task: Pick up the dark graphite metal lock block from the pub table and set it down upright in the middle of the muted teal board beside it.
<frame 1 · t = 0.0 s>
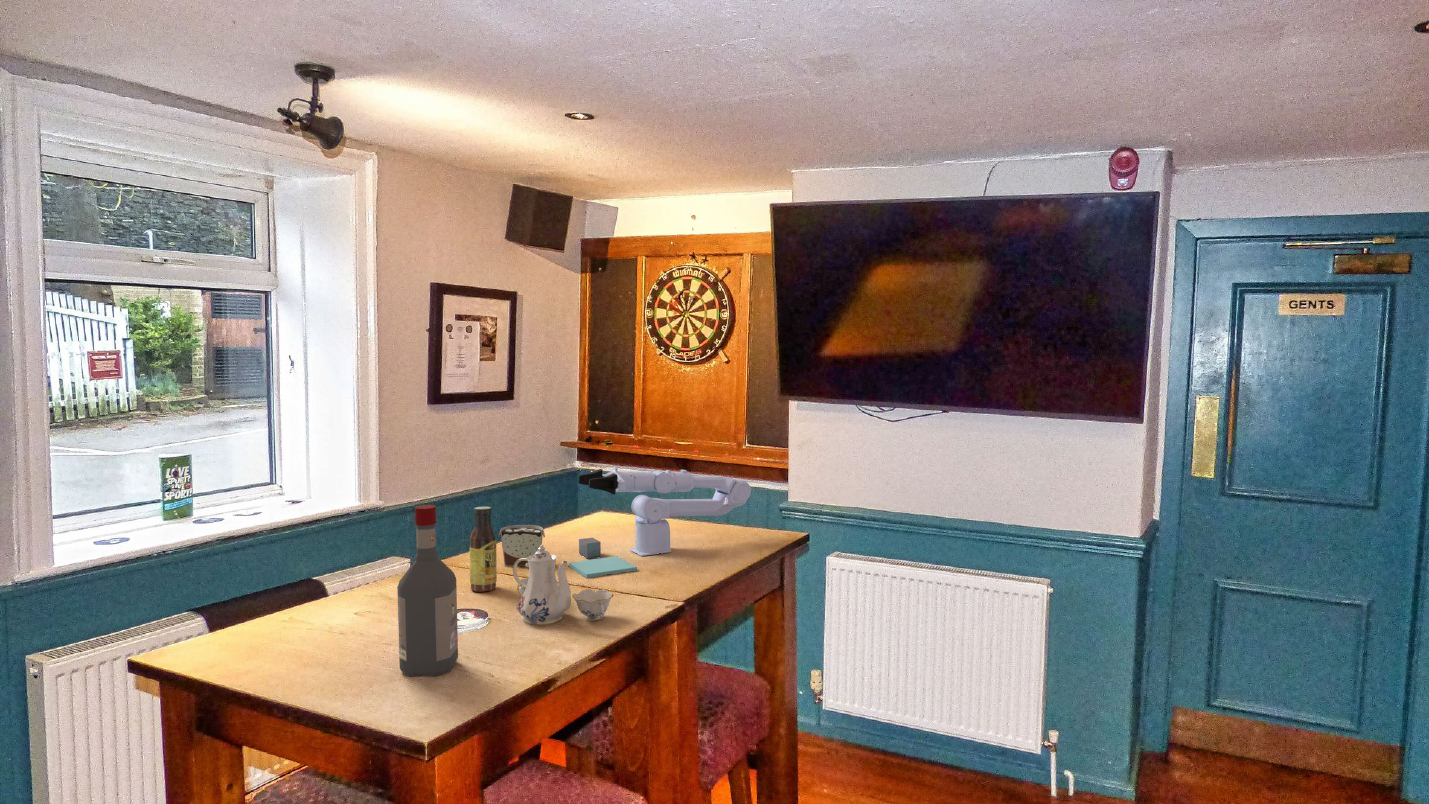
hand: (583, 481, 236), 22 cm above the table, tool horizontal, fingers open, 7 cm apart
chinaware: (553, 616, 191), on the table
sauce bottle: (483, 589, 211), on the table
teal board: (602, 568, 229), on the table
food container: (525, 564, 234), on the table
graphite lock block: (589, 556, 242), on the table
liquor: (429, 668, 161), on the table
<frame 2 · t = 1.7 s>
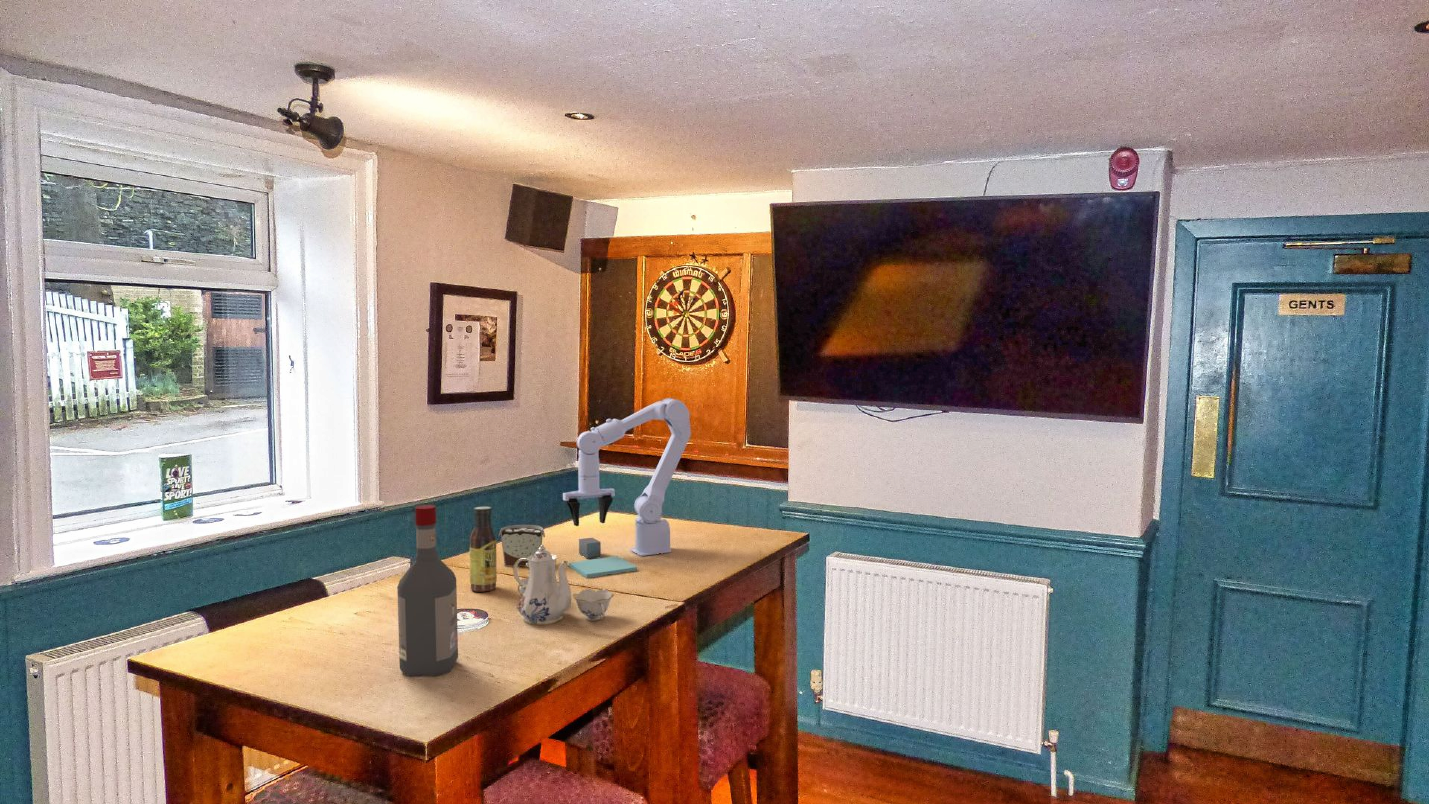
hand: (589, 524, 242), 9 cm above the table, tool pointing down, fingers open, 7 cm apart
nothing on the table moved.
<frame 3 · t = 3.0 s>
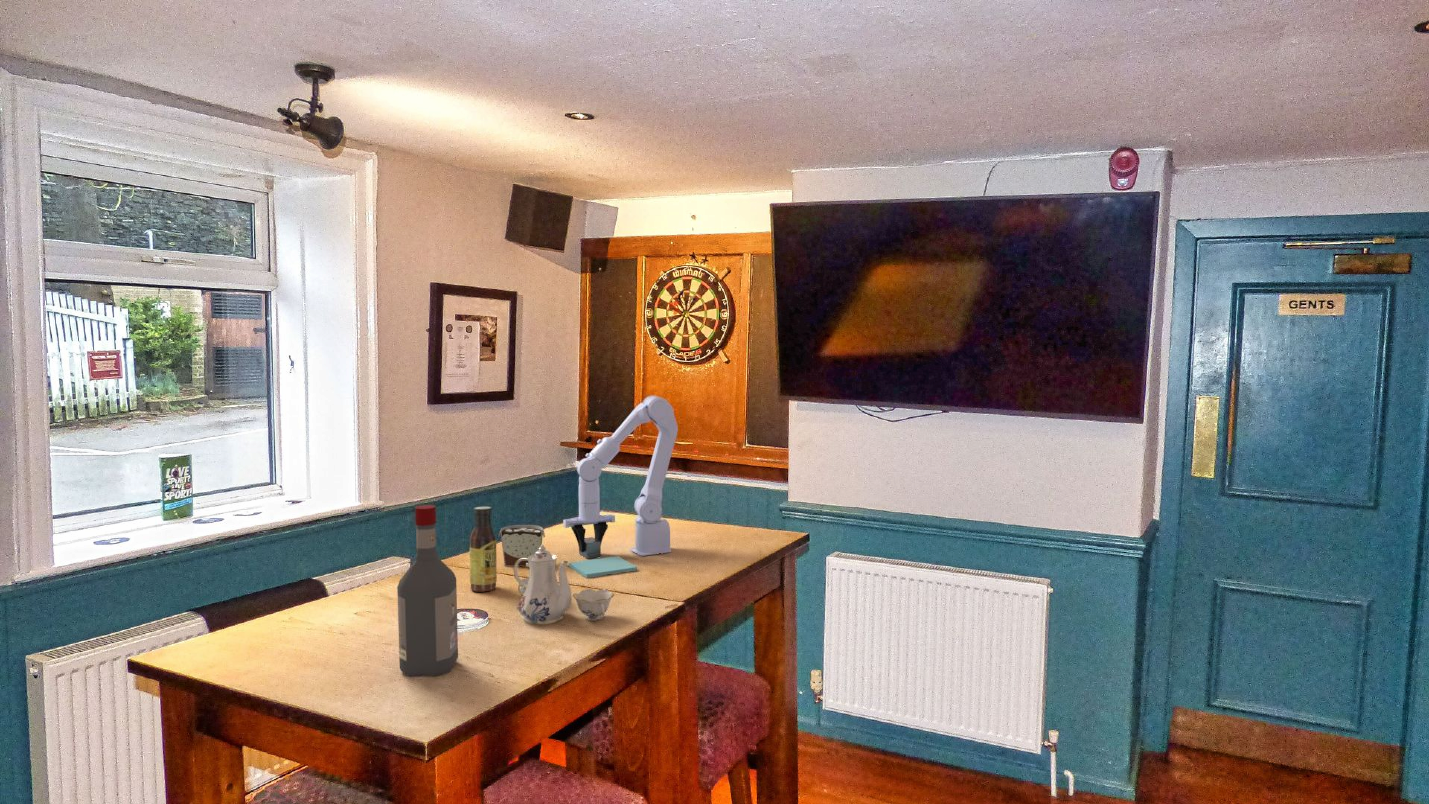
hand: (589, 550, 242), 2 cm above the table, tool pointing down, fingers closed on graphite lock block, 4 cm apart
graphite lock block: (589, 556, 242), on the table, touching gripper
everything else where it was.
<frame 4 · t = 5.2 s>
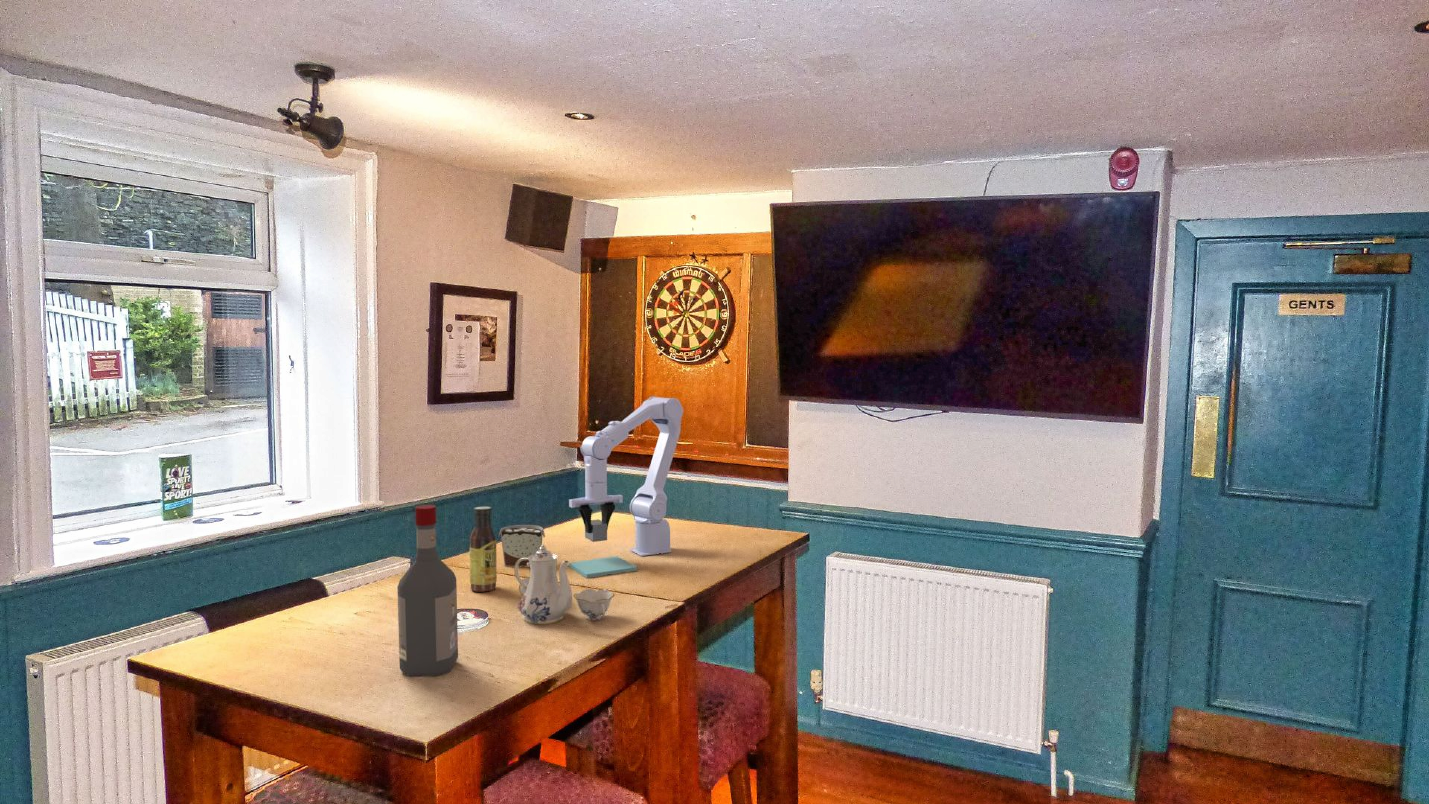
hand: (596, 531, 234), 9 cm above the table, tool pointing down, fingers closed on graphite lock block, 4 cm apart
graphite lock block: (596, 538, 234), point 7 cm above the table, touching gripper
everything else where it was.
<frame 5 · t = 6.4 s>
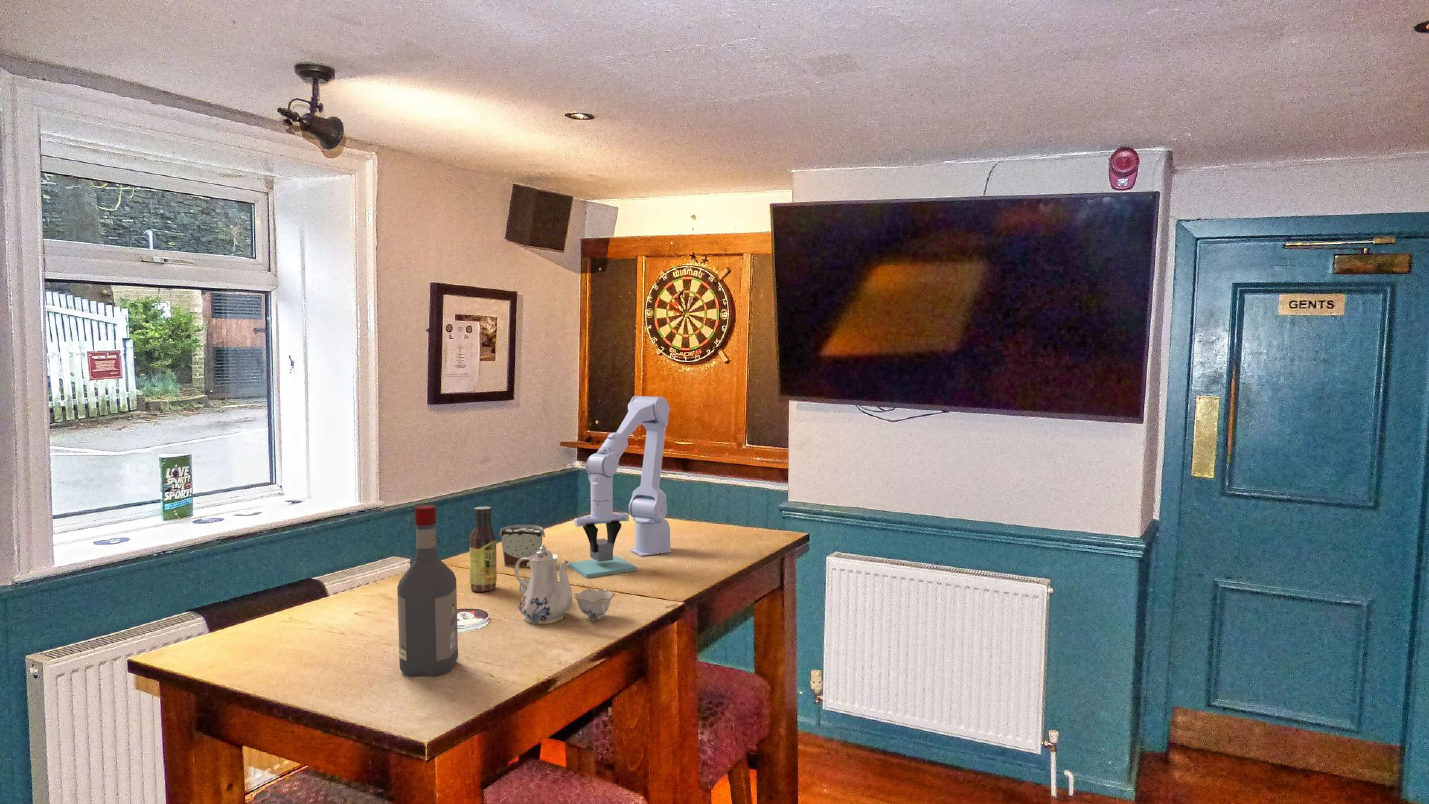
hand: (602, 550, 229), 5 cm above the table, tool pointing down, fingers closed on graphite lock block, 4 cm apart
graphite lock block: (601, 558, 229), point 3 cm above the table, touching gripper
everything else where it was.
when the fingers open (4 cm above the table, at t = 7.3 s): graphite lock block stays where it is, resting on teal board.
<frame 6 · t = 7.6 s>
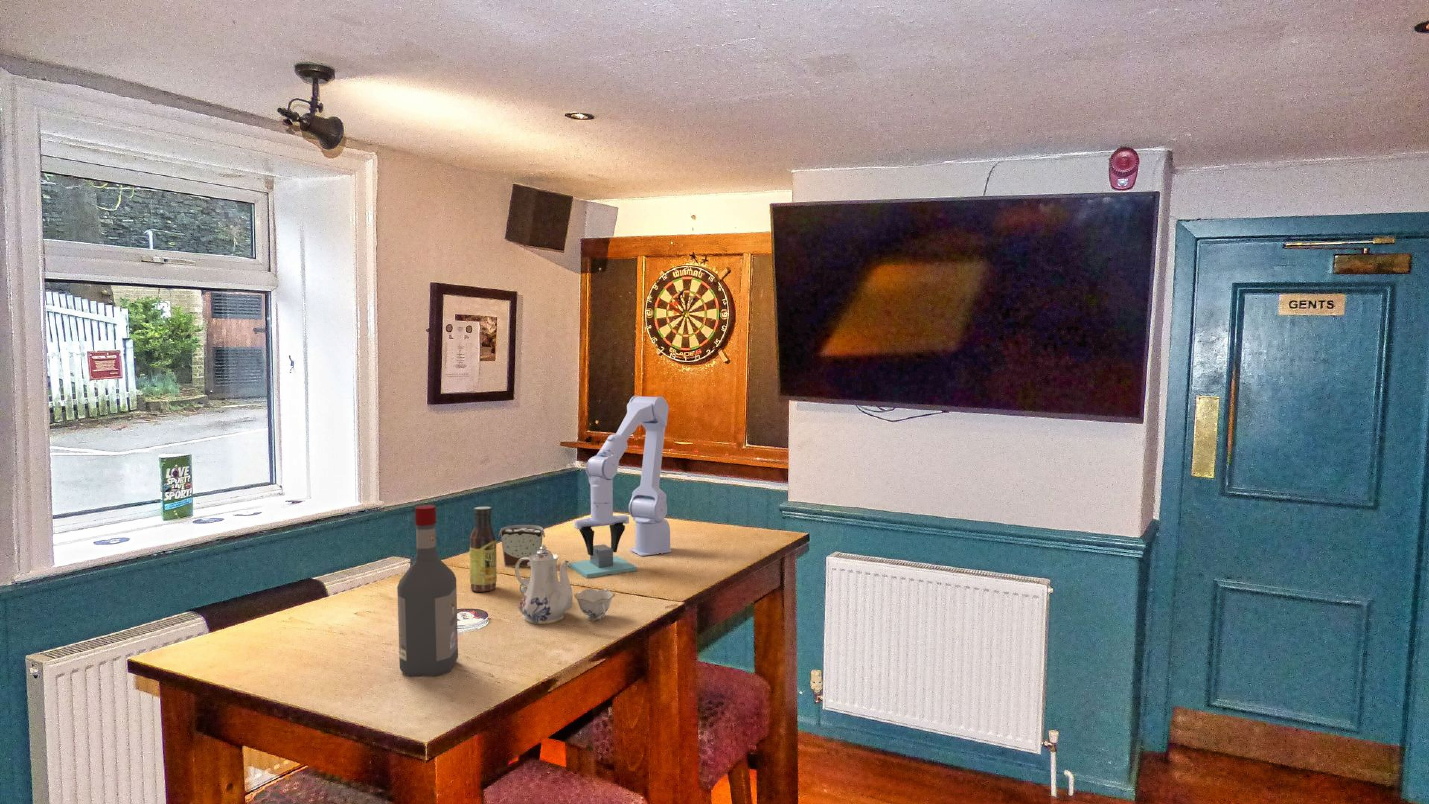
hand: (602, 553, 229), 4 cm above the table, tool pointing down, fingers open, 6 cm apart
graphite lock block: (601, 564, 229), point 1 cm above the table, touching teal board
everything else where it was.
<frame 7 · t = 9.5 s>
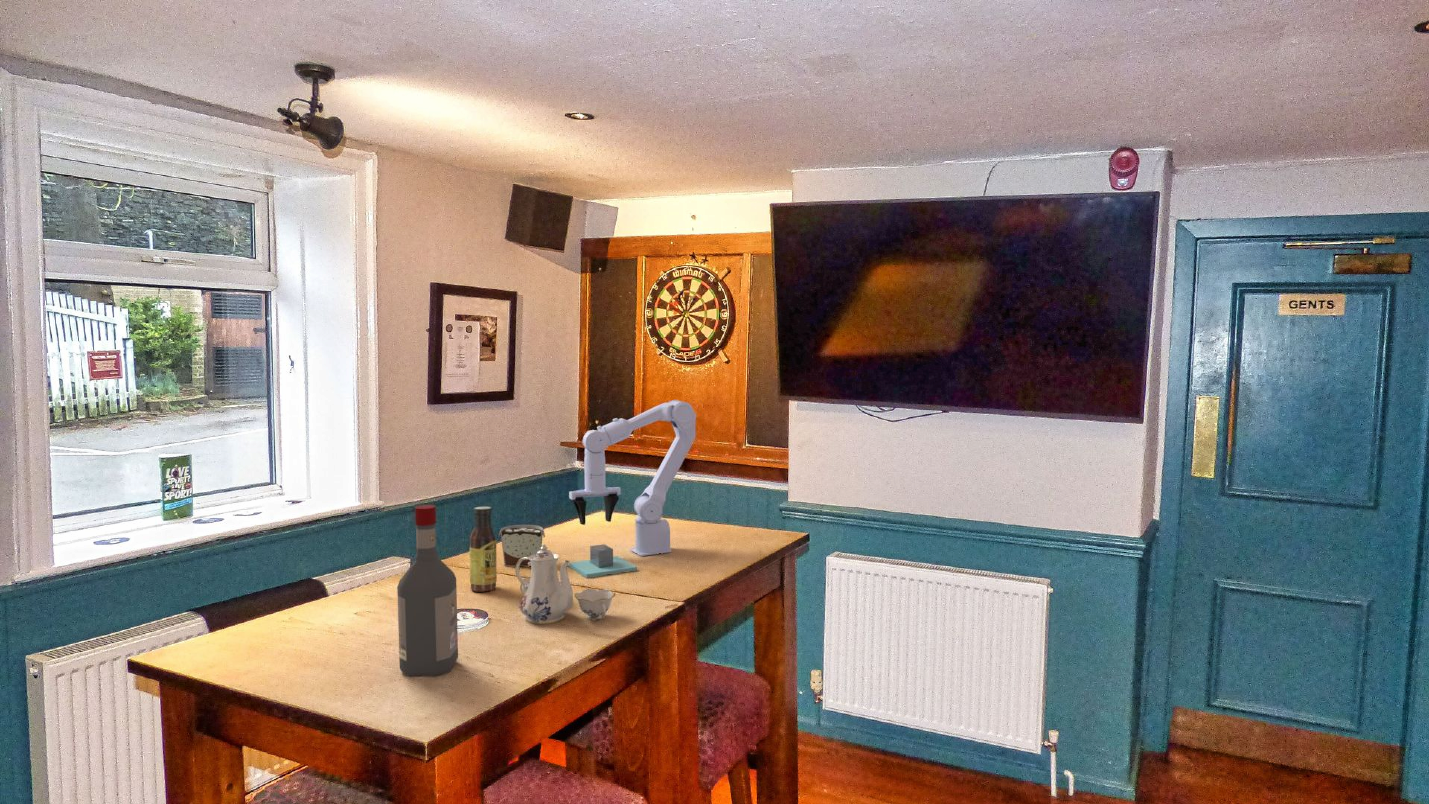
hand: (595, 522, 241), 9 cm above the table, tool pointing down, fingers open, 7 cm apart
nothing on the table moved.
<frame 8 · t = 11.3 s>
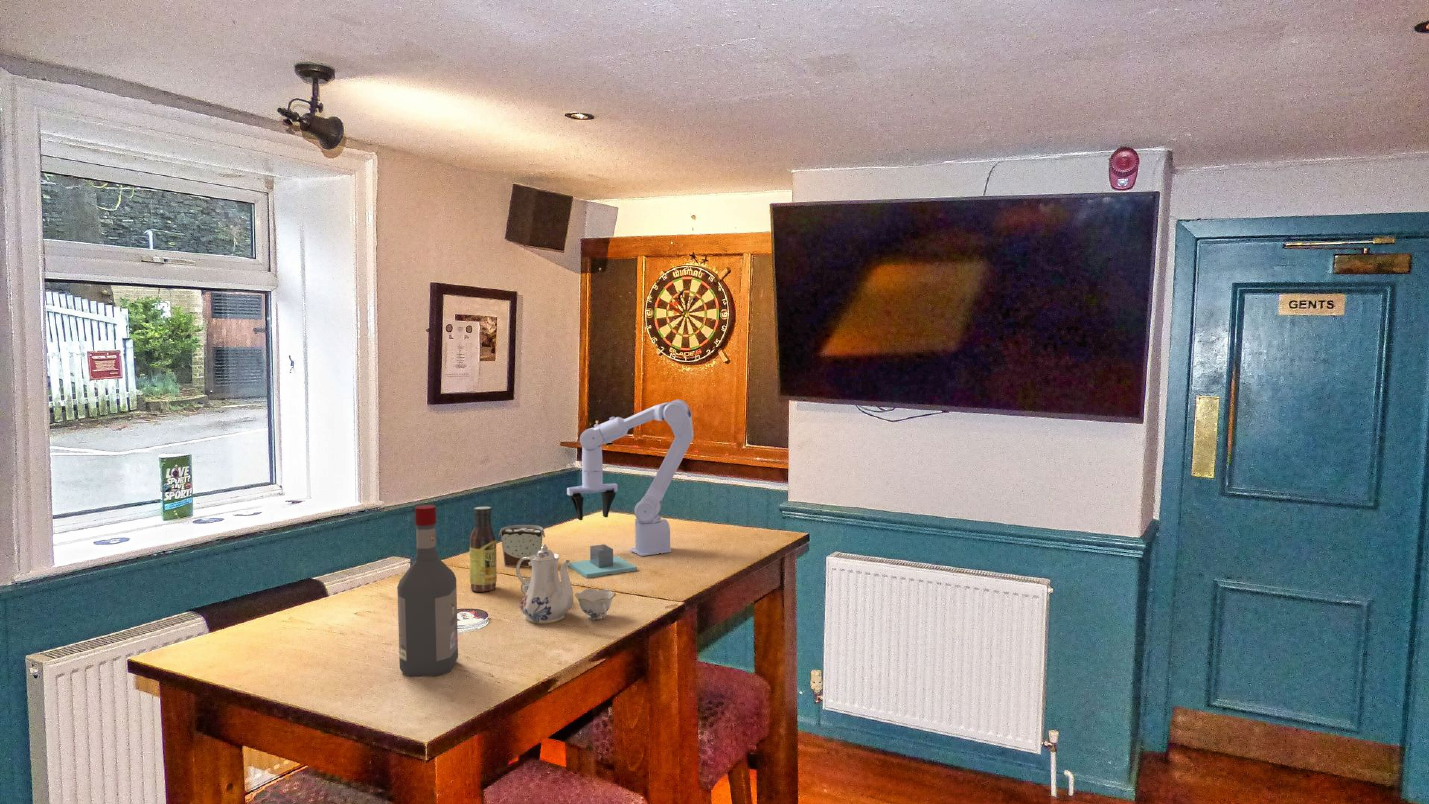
hand: (592, 518, 247), 9 cm above the table, tool pointing down, fingers open, 7 cm apart
nothing on the table moved.
at the end: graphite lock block inside the target area on the teal board (0.5 cm from its centre), point 1.0 cm above the teal board's base; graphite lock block tilted 0°; the gripper is holding nothing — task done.
